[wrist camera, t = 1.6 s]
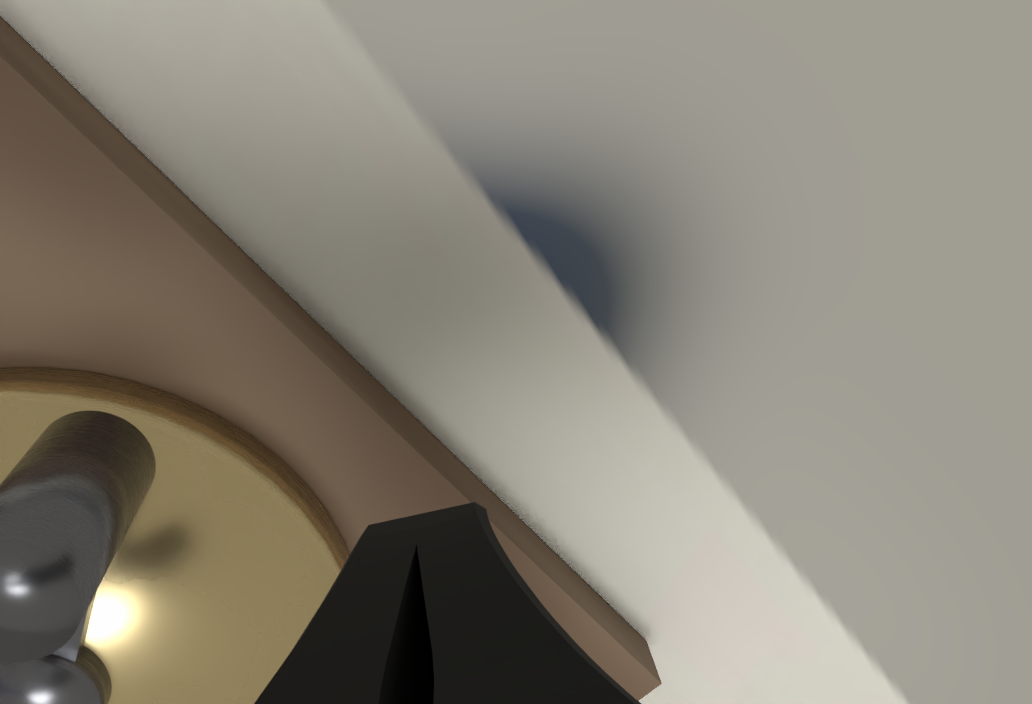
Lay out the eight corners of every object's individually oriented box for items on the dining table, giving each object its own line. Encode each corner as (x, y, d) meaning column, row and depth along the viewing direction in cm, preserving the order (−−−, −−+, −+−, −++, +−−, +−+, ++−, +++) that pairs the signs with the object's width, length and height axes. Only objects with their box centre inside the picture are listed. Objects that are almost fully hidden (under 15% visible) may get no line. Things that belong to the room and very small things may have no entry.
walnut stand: (239, 944, 25) (214, 1087, 22) (-525, 467, 18) (-728, 572, 15) (646, 641, 23) (685, 749, 20) (-54, -36, 16) (-172, -41, 13)
